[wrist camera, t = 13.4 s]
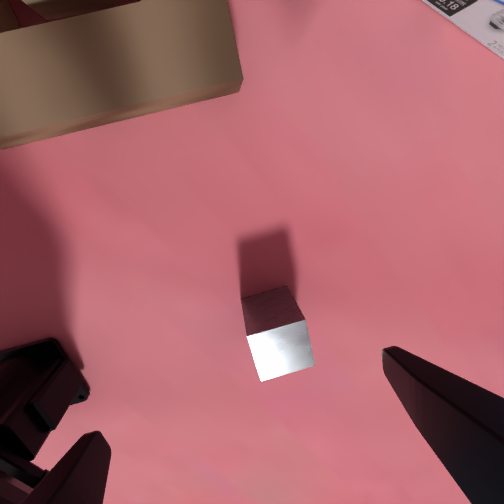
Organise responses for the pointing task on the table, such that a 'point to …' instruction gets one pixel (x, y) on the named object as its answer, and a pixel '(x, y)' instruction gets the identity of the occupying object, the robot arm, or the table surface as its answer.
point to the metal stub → (277, 333)
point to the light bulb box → (476, 19)
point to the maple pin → (68, 7)
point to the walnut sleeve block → (112, 66)
